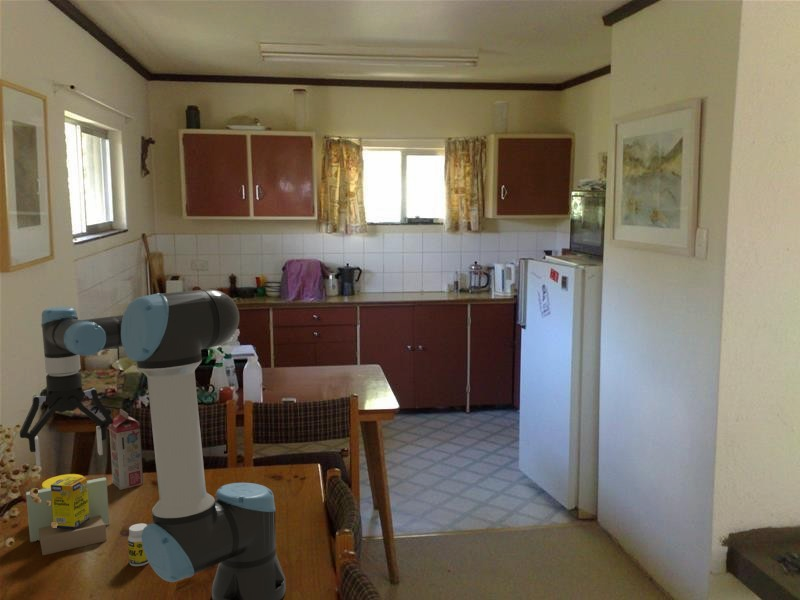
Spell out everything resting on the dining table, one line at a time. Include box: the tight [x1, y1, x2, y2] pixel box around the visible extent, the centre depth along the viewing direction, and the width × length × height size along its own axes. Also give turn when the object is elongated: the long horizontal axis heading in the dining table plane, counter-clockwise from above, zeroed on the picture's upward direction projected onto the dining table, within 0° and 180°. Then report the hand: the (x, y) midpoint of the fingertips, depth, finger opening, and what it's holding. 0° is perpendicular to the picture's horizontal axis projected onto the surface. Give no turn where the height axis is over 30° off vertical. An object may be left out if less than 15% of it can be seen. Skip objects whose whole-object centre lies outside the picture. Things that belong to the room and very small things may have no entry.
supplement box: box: [51, 476, 89, 529], centre depth 171 cm, size 6×6×11 cm
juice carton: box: [108, 408, 144, 491], centre depth 205 cm, size 7×7×22 cm
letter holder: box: [25, 476, 111, 556], centre depth 172 cm, size 11×18×12 cm, turn 121°
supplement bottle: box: [127, 523, 149, 567], centre depth 161 cm, size 5×5×8 cm
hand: (69, 458), depth 169 cm, fingers open, 13 cm apart
